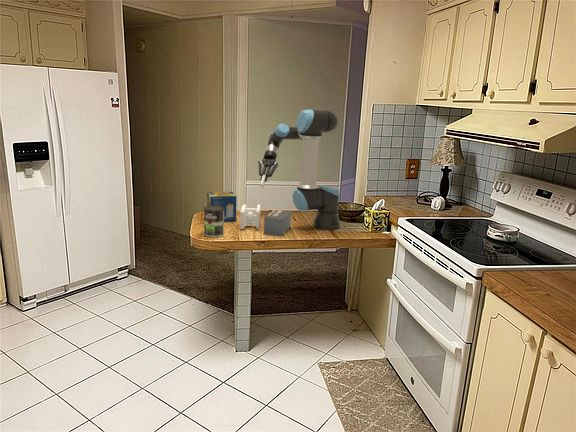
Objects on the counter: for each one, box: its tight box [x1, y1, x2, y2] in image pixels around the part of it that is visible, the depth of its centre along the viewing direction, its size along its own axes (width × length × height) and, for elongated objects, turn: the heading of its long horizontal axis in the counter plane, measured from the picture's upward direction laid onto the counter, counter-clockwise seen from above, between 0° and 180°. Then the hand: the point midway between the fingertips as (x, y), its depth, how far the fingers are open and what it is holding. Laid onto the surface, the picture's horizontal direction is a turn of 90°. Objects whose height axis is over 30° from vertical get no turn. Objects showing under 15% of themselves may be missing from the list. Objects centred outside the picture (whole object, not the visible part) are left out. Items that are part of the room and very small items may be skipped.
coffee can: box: [203, 205, 225, 238], centre depth 227 cm, size 10×10×14 cm
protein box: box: [206, 191, 238, 223], centre depth 254 cm, size 10×15×16 cm
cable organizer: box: [239, 203, 262, 230], centre depth 244 cm, size 15×11×12 cm
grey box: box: [263, 209, 292, 237], centre depth 239 cm, size 10×18×10 cm, turn 166°
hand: (262, 185), depth 259 cm, fingers closed
